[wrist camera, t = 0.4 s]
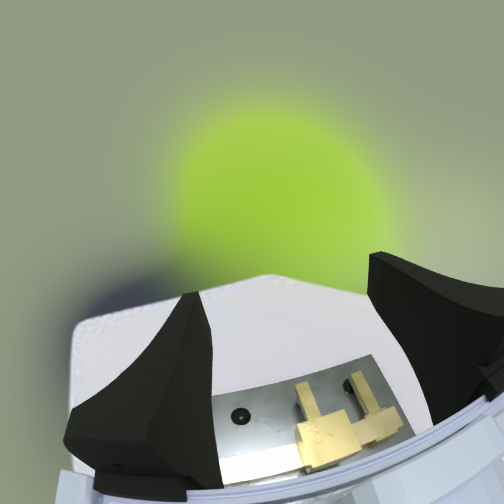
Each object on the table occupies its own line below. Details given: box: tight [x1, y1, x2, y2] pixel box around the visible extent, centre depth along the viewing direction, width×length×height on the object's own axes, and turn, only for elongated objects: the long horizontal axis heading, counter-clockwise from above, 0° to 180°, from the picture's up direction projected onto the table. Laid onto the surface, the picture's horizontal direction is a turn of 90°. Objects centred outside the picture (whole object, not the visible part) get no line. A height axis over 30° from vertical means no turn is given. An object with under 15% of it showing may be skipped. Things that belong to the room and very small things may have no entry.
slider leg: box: [294, 381, 362, 473], centre depth 21 cm, size 8×4×5 cm, turn 13°
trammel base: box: [212, 354, 416, 504], centre depth 22 cm, size 14×20×3 cm
